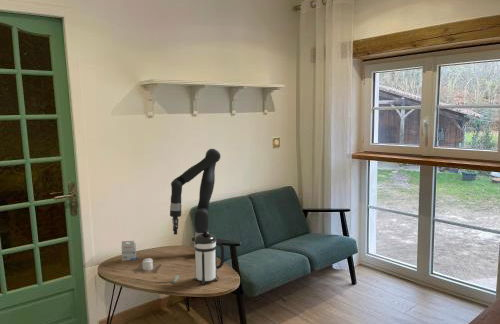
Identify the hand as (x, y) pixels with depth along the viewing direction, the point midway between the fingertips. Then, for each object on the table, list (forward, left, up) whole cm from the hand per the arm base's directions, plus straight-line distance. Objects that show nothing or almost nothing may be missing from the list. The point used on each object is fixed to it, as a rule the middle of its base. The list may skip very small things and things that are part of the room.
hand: (175, 232), depth 253 cm
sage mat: (-2, +34, -18) cm, 39 cm away
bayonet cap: (+13, +21, -17) cm, 30 cm away
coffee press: (-26, +34, -19) cm, 47 cm away
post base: (+13, +21, -18) cm, 31 cm away
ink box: (+30, +4, -19) cm, 36 cm away
